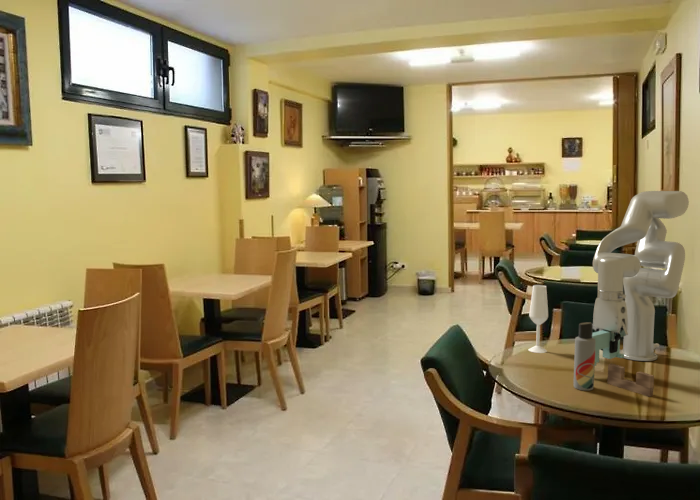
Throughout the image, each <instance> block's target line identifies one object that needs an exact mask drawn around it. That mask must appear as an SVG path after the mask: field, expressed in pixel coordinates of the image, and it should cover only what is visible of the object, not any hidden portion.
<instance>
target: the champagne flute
mask: <svg viewBox="0 0 700 500" xmlns="http://www.w3.org/2000/svg"><path fill="white" fill-rule="evenodd" d="M547 293H548V292H547V285H543V284H534V285H532V291H531V297H530V306H529V314H528V317H529V319H530V320H531V321H532V322H533V323H534V324H535V325H536V333H535V334H536V338H535V339H536V341H535V343H536V344H535V345H534V346H532V347H530V348H528V350H527V351H529V352H531V353H535V354H536V353H537V354H544V353H547V352H548V350H547V349H546V348H544V347H542V346H541V345H540V344H541V343H540V339H541V338H540V337H541V336H540V335H541V325H542V324H544V323H545V322H546V321H547V320H548V318H549V307H548V304H549V303H548V294H547Z"/></svg>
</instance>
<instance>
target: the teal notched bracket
mask: <svg viewBox="0 0 700 500" xmlns="http://www.w3.org/2000/svg"><path fill="white" fill-rule="evenodd" d="M615 336H616V333H615ZM592 338H594V339H595V367H597V364H598V363H600V351H602V350H601V349H603V351H602V358H605V359H608V360H611V359H615V358H618V359H625V358H624V354H621V353H620V350H621V349H620V348H621V347H620V346H621V339H620V340H618V350H617V352H614V353H610V352H609V347H610V341H611V331H607V330H602V331H598V332H596V331H594V332H592Z"/></svg>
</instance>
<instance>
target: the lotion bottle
mask: <svg viewBox="0 0 700 500" xmlns="http://www.w3.org/2000/svg"><path fill="white" fill-rule="evenodd" d="M592 324H593V322H591V321H589V322H587V321H585V322H580V323H578V336H575V340H574V359H573V360H574V361H573V362H574V363H573V388H574V389H577V390H579V391H588V392H589V391H593V390H594V387H595V386H594V385H595V367H596V366H595V339H594V338H592V333H593V330H594V329H593V325H592Z"/></svg>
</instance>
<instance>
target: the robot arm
mask: <svg viewBox="0 0 700 500" xmlns="http://www.w3.org/2000/svg"><path fill="white" fill-rule="evenodd" d="M689 202H690V201H689V197H688V195H687V194H686V193H685V192H684V191H683V190H681V191H680V190H647V191H642V192H639V193H637V194H635V195H634V196H633V197H632V198H631V200H630V202H629V204H628V207H627V209H626V212H625V214H624V217H623V219H622V222H621V225H620V226H619V227H617V228H616V229H614V230H613V231H611V232H609V233H608V234H607V235H606V236H604V237H603V238H602V240H601V241H600V242H599V244H598V245H597V248H596V250H595V253H594V256H593V258H592V259H593V260H592V269H593V271H594V272H595V273H596V274H597V297H596V298H595V302H594V308H593V316H592V318H593V319H592V325H593V330H594V332H598V331H602V330H607V331H611V341H610V347H609V352H610V353H614V352H617V350H618V340H620V341H621V339H622V338H623V341H622V342H623V348H622V349H620V353H621V354H624V358H623V359H627V360H631V361H638V362H651V361H653V362H654V361H655V360H657V359H658V354H657V353H656V352H654V350H658V349H660V344H659V343H654V335H655V334H654V331H655V330H654V329H655V315H656V314H655V313H656V310H655V305H654V302H652V300H651V298H650V297H654V298H661V299H662V298H663V299H672V298H674V297H676V295H677V294H678V291H679V287H680V284H681V280H682V275H683V270H684V267H685V261H686V250H685V248H684V247H685V246H683V244H682V243H680V242H676V241H668V240H666V237H667V233H668V232H667V231H668V230H667V227H666V226H665V224H664V222H662V220H663V219H664V220H665V219H666V220H667V219H670V220H671V219H675V218H678V217H681V216H683V215H685V213H686V212H687V210H688V208H689ZM661 219H662V220H661ZM636 242H637V243H636ZM633 243H636V247H635V251H634V254H629V253H618V252H613V251H615V250H616V249H617V248H620V247H623V246H626V245H629V244H633ZM656 268H657V269H656ZM615 333H616V336H615ZM600 351H602V352H603V349H601V350H600Z"/></svg>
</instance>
